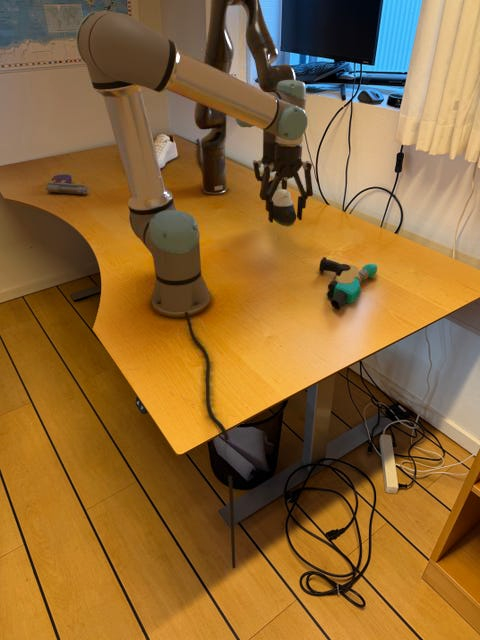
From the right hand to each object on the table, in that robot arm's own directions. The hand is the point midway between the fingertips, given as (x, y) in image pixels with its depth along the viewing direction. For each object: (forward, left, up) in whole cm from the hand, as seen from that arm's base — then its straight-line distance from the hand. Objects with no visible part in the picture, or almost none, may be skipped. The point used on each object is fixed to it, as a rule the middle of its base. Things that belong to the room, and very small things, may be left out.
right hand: (273, 191), depth 155 cm
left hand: (+15, -6, -3) cm, 16 cm away
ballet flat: (+7, -4, -4) cm, 9 cm away
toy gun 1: (-74, -48, -12) cm, 89 cm away
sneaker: (-83, -6, -12) cm, 84 cm away
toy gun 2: (+42, -8, -12) cm, 45 cm away
